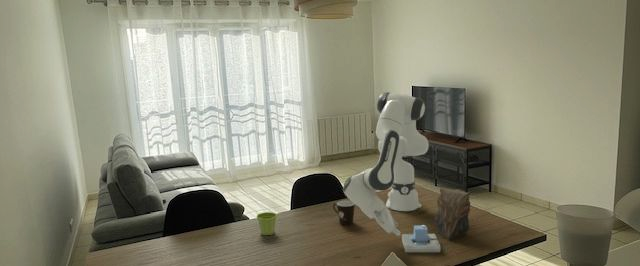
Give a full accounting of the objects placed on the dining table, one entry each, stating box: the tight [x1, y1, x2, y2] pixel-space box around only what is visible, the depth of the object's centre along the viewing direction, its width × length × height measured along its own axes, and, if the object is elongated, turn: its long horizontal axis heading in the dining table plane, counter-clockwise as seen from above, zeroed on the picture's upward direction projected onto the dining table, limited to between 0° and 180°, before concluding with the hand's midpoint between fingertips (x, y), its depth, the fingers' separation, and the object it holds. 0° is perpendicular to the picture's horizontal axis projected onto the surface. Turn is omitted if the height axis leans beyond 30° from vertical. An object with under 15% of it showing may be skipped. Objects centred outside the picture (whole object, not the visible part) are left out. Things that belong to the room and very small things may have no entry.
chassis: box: [401, 233, 441, 253], centre depth 186 cm, size 12×14×3 cm
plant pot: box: [256, 211, 278, 236], centre depth 206 cm, size 9×9×9 cm
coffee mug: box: [332, 200, 356, 226], centre depth 216 cm, size 12×9×10 cm
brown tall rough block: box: [434, 188, 471, 242], centre depth 197 cm, size 13×13×20 cm
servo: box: [411, 224, 431, 243], centre depth 186 cm, size 4×8×9 cm, turn 86°
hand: (398, 230), depth 185 cm, fingers open, 8 cm apart
